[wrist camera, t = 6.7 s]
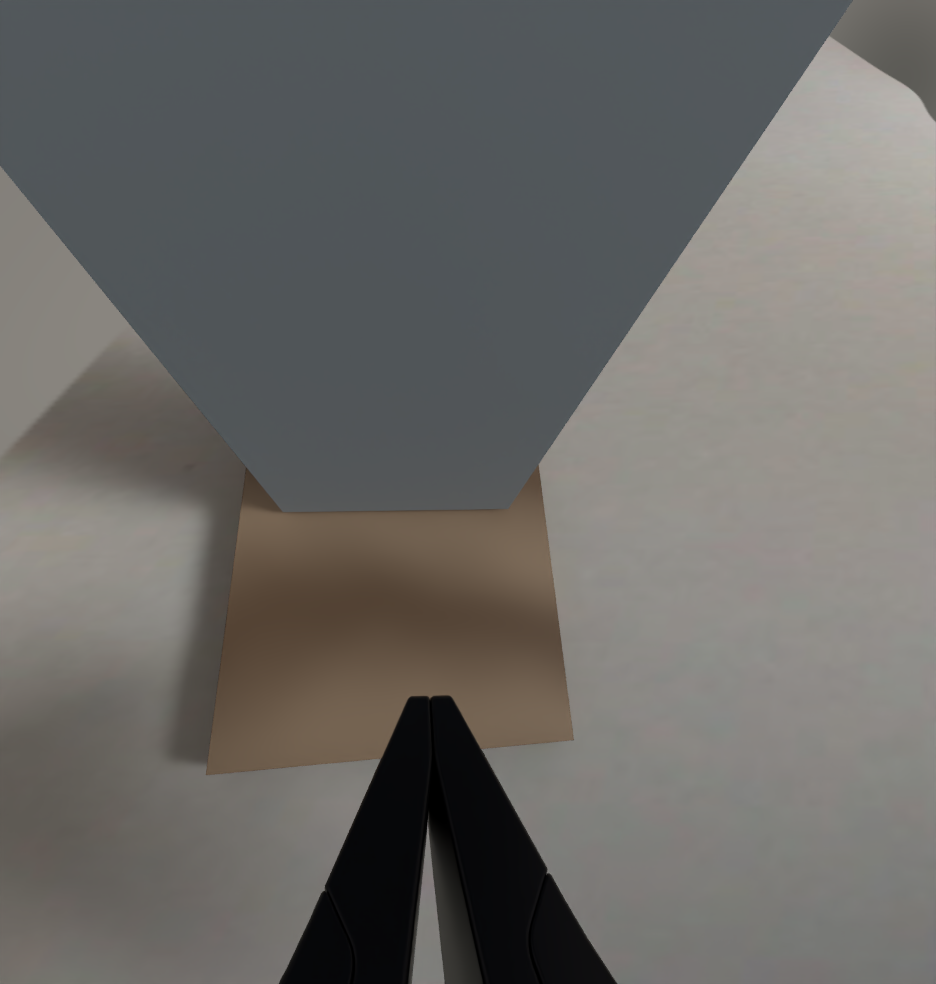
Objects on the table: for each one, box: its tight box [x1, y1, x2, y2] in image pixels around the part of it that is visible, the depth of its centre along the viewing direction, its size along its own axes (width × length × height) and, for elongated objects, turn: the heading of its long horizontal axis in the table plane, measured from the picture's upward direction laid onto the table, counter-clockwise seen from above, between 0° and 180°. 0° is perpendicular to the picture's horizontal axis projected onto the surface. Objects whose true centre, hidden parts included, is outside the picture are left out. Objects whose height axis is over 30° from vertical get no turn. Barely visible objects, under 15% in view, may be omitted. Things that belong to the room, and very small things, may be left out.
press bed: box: [206, 465, 574, 775], centre depth 15 cm, size 20×11×7 cm, turn 4°
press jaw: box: [0, 0, 853, 512], centre depth 10 cm, size 4×8×15 cm, turn 94°
